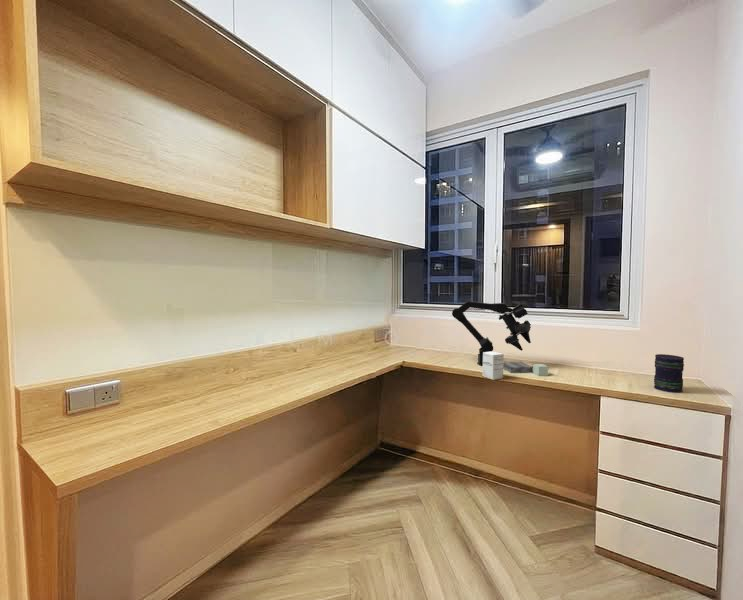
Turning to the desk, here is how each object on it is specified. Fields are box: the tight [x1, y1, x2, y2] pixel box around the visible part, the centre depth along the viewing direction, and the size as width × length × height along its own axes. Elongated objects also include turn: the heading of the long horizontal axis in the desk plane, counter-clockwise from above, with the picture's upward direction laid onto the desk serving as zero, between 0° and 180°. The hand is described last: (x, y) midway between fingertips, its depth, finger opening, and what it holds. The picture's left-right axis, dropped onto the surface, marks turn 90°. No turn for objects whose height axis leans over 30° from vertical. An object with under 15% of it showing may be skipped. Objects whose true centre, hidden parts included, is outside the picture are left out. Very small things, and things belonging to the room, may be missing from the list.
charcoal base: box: [503, 361, 534, 374], centre depth 187 cm, size 12×12×3 cm
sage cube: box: [532, 363, 549, 377], centre depth 177 cm, size 5×5×5 cm
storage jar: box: [653, 353, 685, 394], centre depth 152 cm, size 10×10×15 cm
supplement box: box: [482, 350, 505, 381], centre depth 172 cm, size 7×7×13 cm
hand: (526, 346), depth 192 cm, fingers open, 9 cm apart
